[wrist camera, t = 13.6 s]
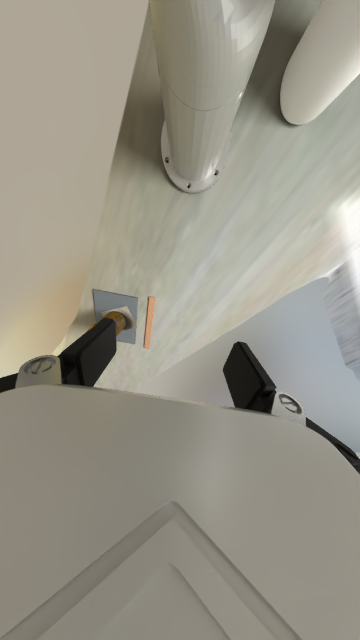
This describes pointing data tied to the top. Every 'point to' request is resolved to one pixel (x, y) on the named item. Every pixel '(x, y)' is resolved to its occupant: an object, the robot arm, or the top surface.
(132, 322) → the condiment
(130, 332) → the mat
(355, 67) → the alcohol
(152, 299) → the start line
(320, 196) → the top surface
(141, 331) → the top surface
